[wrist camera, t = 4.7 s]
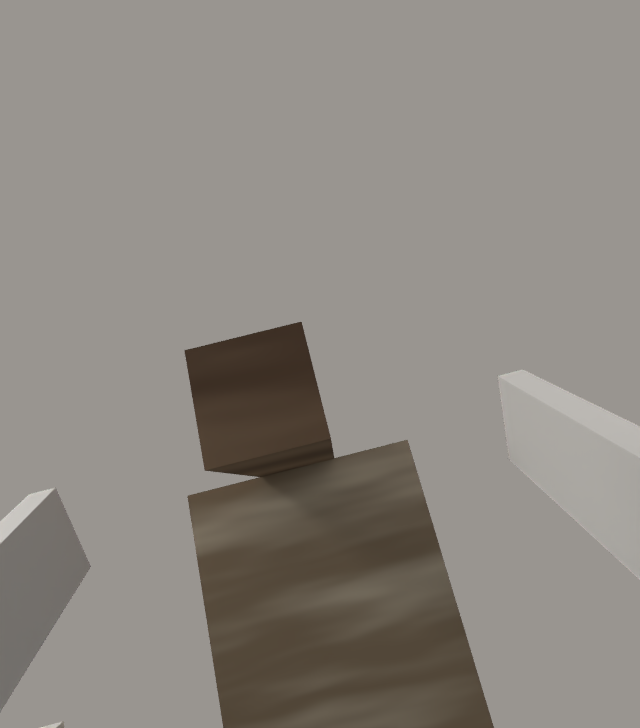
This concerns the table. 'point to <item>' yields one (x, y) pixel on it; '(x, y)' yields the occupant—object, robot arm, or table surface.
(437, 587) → the birch pedestal
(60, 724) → the grey plinth
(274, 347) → the walnut bar
